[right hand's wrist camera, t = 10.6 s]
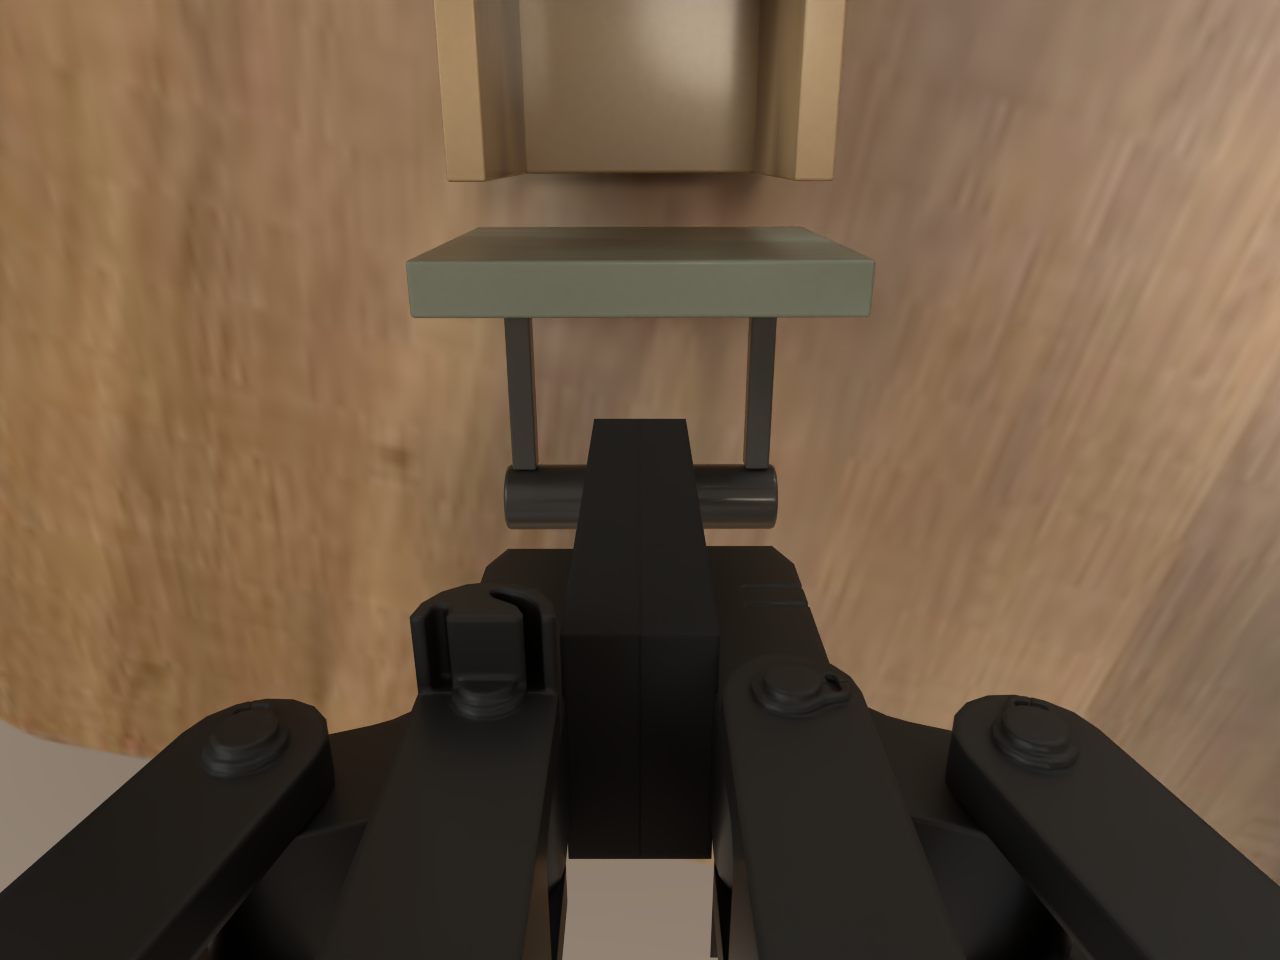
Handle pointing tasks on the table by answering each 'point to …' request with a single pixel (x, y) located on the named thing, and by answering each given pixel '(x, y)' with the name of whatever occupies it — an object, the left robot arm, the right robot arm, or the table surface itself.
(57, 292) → the table surface
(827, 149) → the drawer
